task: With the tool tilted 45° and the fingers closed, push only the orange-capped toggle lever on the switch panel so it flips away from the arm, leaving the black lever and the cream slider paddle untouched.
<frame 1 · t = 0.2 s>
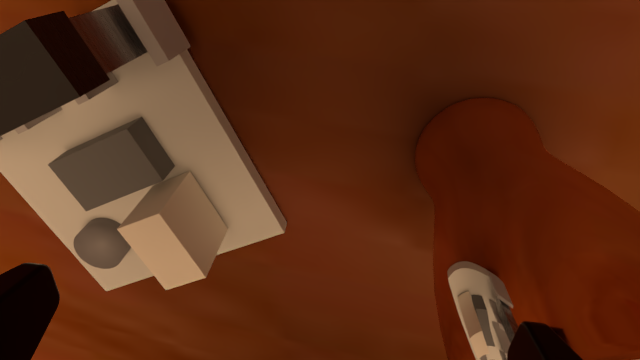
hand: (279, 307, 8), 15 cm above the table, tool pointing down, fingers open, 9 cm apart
panel: (127, 160, 24), on the table
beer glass: (473, 151, 22), on the table
black lever: (74, 56, 16), point 5 cm above the table, hinge at 0.0°
slider: (178, 229, 22), point 3 cm above the table, slide at 0.0 cm
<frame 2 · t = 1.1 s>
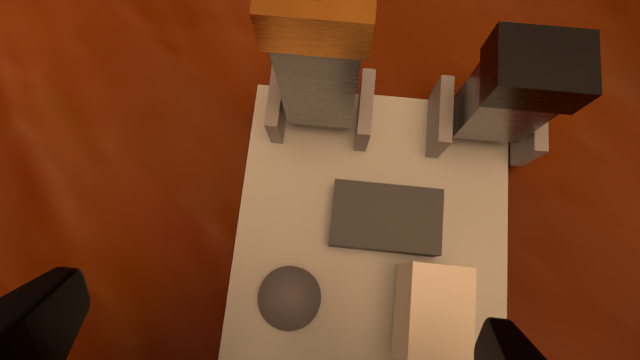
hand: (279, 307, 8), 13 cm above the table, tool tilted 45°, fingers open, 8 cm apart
panel: (369, 232, 22), on the table
black lever: (508, 97, 18), point 5 cm above the table, hinge at 0.0°
slider: (429, 314, 18), point 3 cm above the table, slide at 0.0 cm
orange lever: (319, 64, 17), point 7 cm above the table, hinge at 0.0°
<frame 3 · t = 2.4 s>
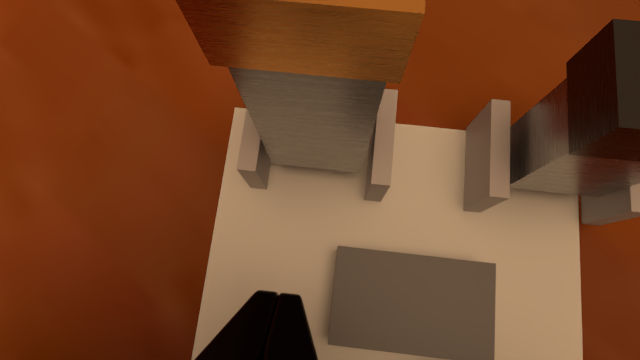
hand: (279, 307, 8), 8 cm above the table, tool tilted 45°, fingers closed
panel: (385, 313, 16), on the table
black lever: (601, 135, 12), point 5 cm above the table, hinge at 0.0°
orange lever: (316, 84, 11), point 7 cm above the table, hinge at 0.0°
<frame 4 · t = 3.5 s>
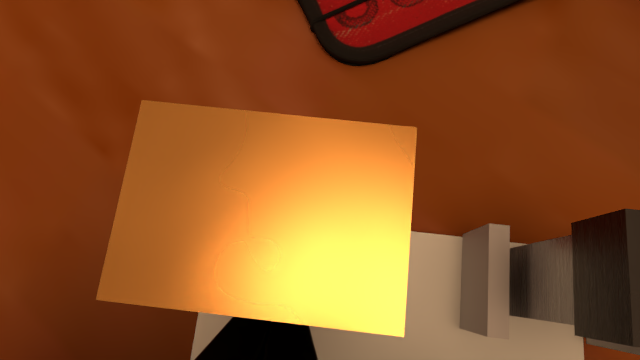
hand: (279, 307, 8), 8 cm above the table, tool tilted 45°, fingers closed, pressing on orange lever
black lever: (609, 286, 11), point 5 cm above the table, hinge at 0.0°
orange lever: (294, 247, 10), point 7 cm above the table, hinge at 0.0°, touching gripper
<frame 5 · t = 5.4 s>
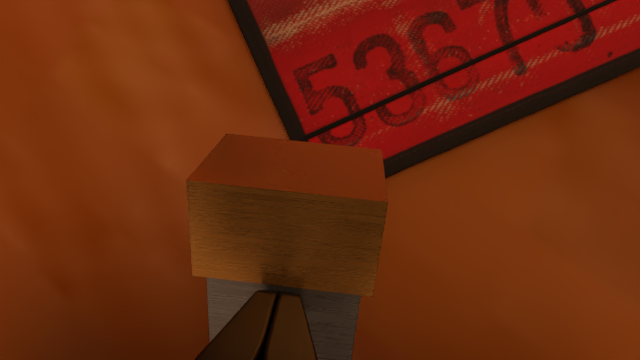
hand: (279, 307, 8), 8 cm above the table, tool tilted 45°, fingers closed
orange lever: (285, 346, 10), point 5 cm above the table, hinge at 51.1°
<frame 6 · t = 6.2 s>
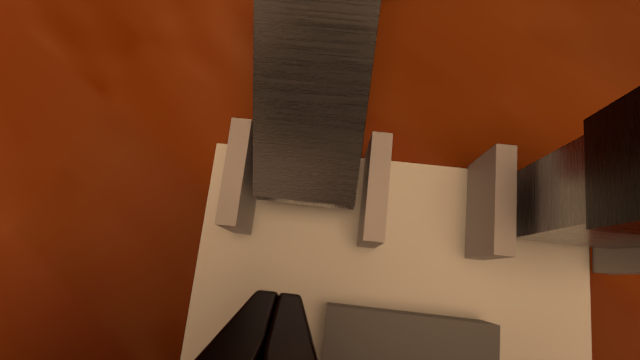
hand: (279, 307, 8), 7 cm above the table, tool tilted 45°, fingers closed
black lever: (619, 194, 10), point 5 cm above the table, hinge at 0.0°
orange lever: (316, 47, 12), point 5 cm above the table, hinge at 51.1°
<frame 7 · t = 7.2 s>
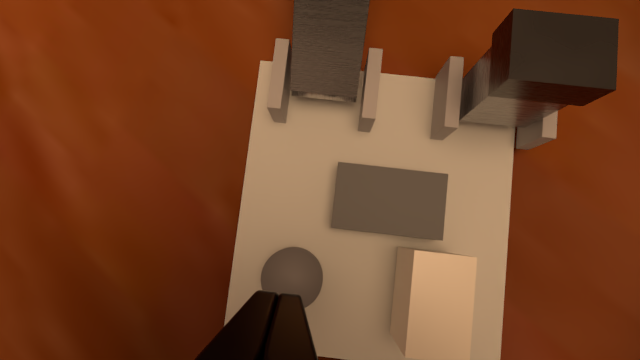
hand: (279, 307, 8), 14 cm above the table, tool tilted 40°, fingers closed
panel: (371, 212, 22), on the table
black lever: (519, 83, 17), point 5 cm above the table, hinge at 0.0°
slider: (429, 298, 18), point 3 cm above the table, slide at 0.0 cm
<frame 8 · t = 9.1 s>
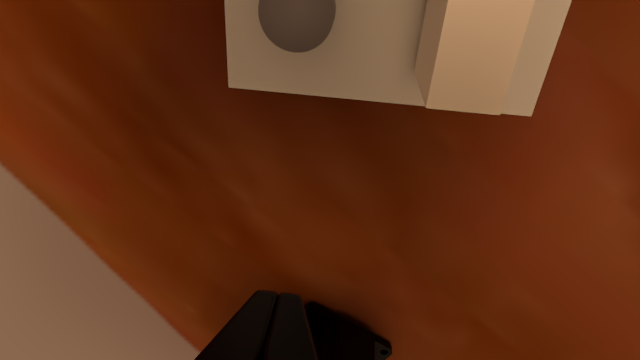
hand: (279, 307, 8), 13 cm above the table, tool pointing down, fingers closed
slider: (465, 34, 15), point 3 cm above the table, slide at 0.0 cm
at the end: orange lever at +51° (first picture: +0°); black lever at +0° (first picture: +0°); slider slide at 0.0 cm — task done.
